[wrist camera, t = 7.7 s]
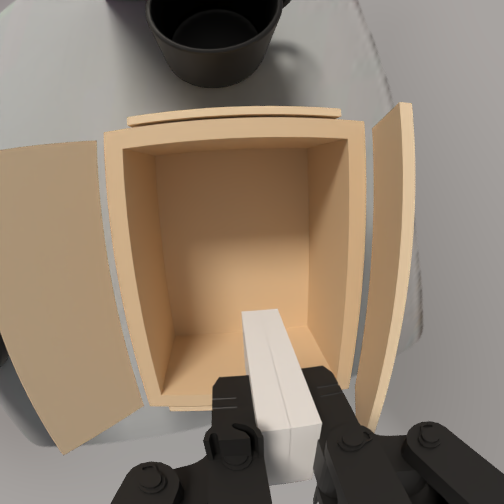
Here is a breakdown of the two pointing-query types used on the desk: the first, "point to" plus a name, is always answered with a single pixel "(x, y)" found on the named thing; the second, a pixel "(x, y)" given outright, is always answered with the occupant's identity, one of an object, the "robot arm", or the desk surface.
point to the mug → (213, 37)
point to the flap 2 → (387, 258)
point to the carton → (236, 239)
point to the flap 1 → (61, 293)
